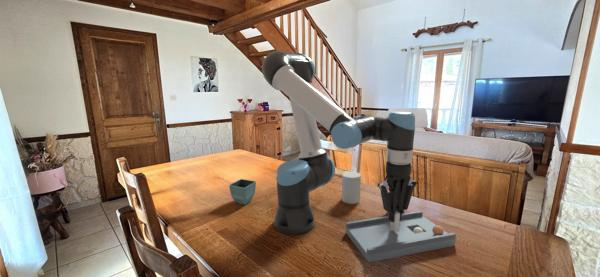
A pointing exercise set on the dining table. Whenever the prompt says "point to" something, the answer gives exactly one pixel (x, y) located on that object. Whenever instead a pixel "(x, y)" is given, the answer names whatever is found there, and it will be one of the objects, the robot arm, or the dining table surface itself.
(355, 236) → the tray
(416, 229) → the ball
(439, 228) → the rust ball
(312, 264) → the dining table surface
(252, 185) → the flower pot
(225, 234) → the dining table surface
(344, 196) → the cup
